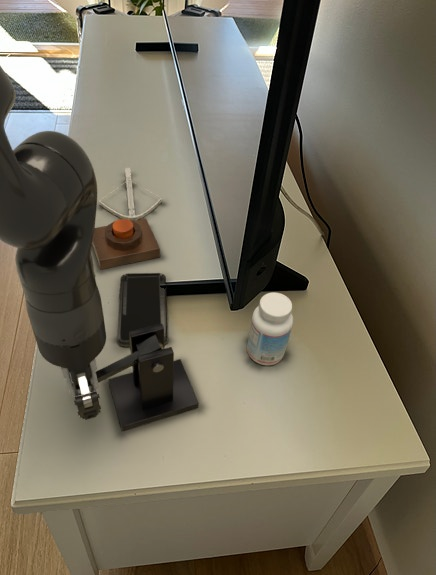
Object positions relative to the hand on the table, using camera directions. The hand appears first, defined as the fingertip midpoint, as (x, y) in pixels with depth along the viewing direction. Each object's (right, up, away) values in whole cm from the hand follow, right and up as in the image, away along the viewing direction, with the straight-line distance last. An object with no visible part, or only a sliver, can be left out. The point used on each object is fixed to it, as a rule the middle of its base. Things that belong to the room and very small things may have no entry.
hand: (85, 398), depth 66 cm
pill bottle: (+25, +5, +13) cm, 29 cm away
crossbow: (-1, +34, +38) cm, 51 cm away
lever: (+5, +4, -1) cm, 7 cm away
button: (0, +25, +24) cm, 35 cm away
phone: (+5, +11, +17) cm, 21 cm away
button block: (0, +22, +27) cm, 35 cm away
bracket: (+8, -1, +6) cm, 10 cm away
